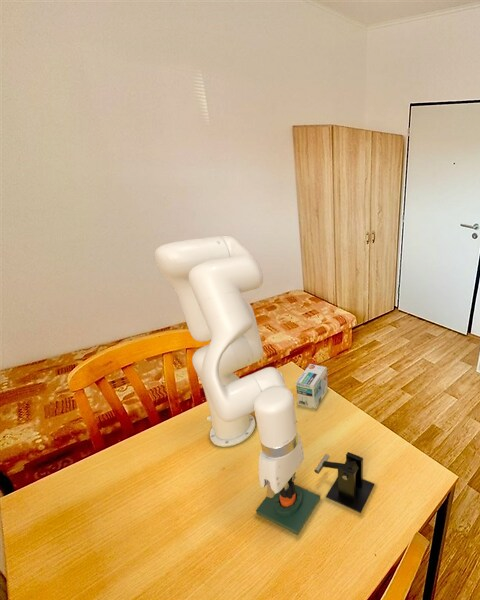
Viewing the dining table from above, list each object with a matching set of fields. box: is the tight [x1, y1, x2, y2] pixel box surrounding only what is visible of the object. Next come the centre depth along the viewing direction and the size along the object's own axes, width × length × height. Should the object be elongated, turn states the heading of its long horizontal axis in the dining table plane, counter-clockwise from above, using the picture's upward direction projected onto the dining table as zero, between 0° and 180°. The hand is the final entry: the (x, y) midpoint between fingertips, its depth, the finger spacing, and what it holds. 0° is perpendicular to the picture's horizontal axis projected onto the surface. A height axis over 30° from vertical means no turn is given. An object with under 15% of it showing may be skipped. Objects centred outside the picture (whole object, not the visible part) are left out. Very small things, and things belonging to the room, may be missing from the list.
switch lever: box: [313, 453, 359, 475], centre depth 81 cm, size 11×5×2 cm, turn 68°
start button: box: [280, 494, 296, 507], centre depth 77 cm, size 4×4×2 cm
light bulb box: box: [295, 363, 328, 410], centre depth 111 cm, size 11×7×11 cm, turn 168°
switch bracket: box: [325, 451, 375, 514], centre depth 81 cm, size 10×8×12 cm
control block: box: [255, 483, 321, 536], centre depth 78 cm, size 12×9×4 cm
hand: (287, 493), depth 76 cm, fingers closed
